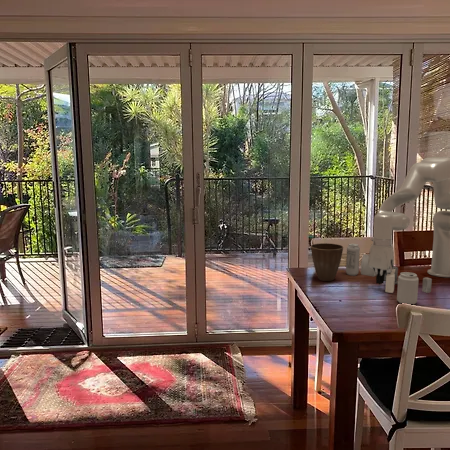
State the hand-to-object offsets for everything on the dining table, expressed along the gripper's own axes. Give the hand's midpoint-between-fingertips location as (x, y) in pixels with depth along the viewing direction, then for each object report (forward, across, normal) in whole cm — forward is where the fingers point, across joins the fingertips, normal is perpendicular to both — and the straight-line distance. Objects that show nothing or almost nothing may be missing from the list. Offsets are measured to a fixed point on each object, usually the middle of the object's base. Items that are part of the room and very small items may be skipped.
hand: (380, 283), depth 189 cm
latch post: (+3, +14, +14) cm, 20 cm away
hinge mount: (+3, -4, +14) cm, 15 cm away
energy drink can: (+3, -23, +10) cm, 25 cm away
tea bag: (+3, -18, +16) cm, 24 cm away
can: (+3, +17, -6) cm, 18 cm away
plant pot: (+3, -25, -7) cm, 26 cm away
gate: (+3, +1, +7) cm, 8 cm away
